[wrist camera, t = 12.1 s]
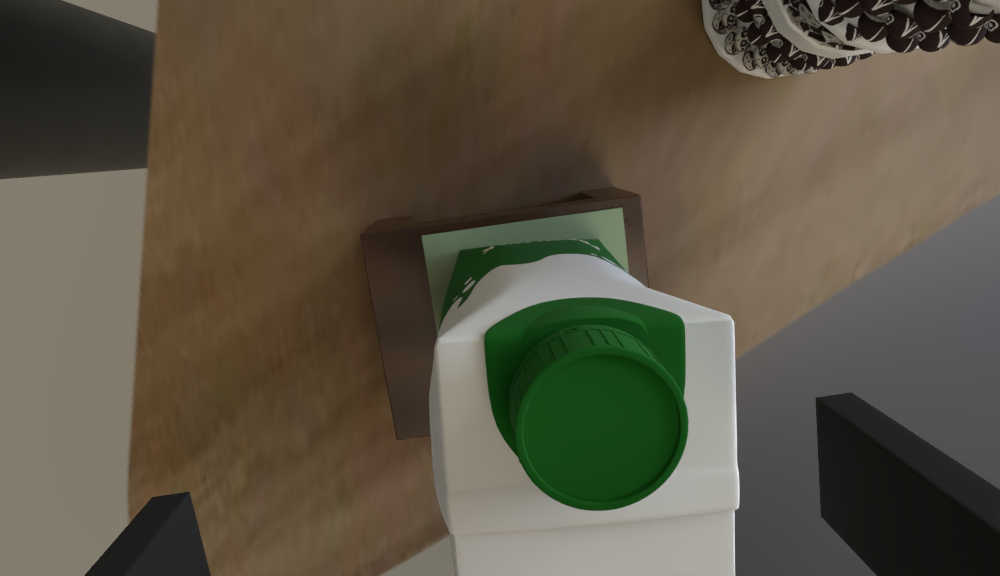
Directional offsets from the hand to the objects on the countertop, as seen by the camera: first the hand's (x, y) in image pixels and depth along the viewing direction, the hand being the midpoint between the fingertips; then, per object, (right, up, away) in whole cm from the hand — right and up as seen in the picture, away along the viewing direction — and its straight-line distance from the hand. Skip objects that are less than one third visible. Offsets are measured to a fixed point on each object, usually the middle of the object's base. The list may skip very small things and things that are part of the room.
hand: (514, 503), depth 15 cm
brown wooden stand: (0, +4, +28) cm, 28 cm away
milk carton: (+1, +3, +21) cm, 22 cm away
